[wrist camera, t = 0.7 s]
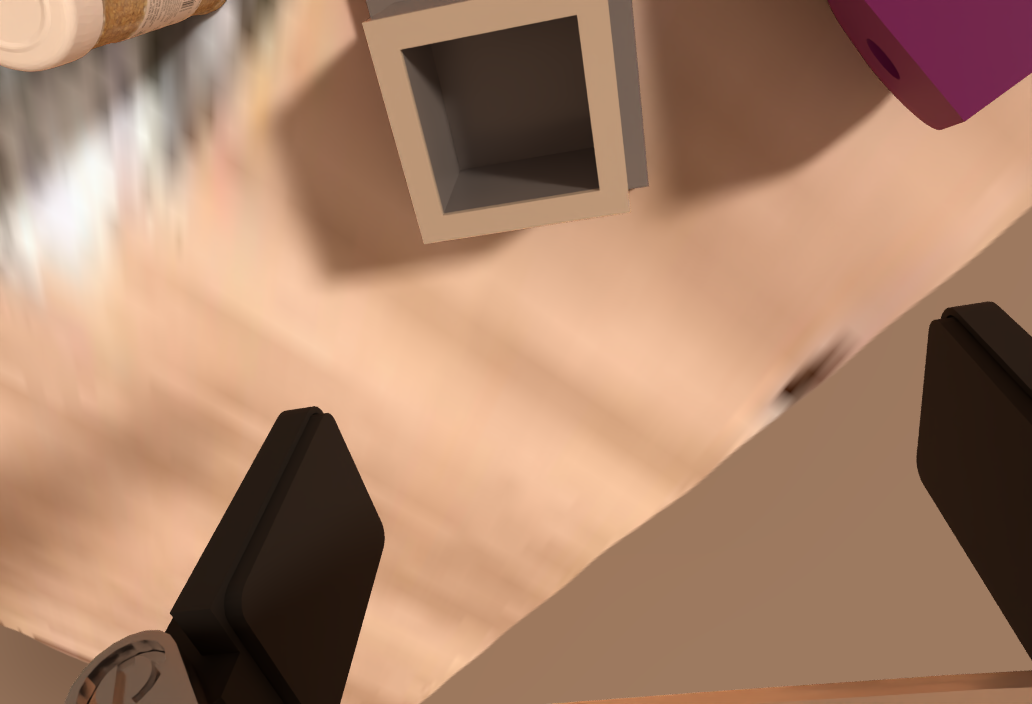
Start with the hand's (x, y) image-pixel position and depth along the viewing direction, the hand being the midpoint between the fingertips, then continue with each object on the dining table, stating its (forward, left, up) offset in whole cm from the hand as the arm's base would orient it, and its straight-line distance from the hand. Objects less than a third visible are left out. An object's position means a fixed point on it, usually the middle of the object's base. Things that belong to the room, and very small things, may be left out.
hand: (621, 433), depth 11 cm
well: (0, -3, -28) cm, 28 cm away
